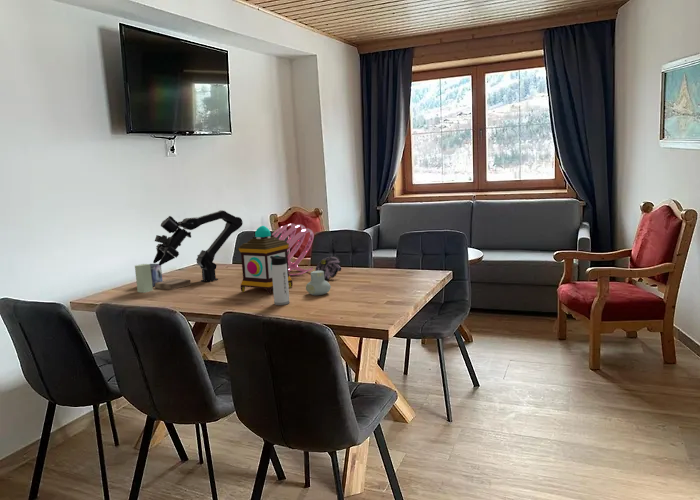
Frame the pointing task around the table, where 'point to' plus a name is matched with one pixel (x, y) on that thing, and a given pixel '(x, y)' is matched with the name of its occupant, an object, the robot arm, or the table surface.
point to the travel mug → (280, 280)
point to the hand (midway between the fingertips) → (156, 263)
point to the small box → (156, 273)
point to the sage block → (143, 278)
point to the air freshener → (318, 284)
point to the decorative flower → (329, 267)
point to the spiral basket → (291, 241)
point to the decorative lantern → (261, 259)
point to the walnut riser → (172, 284)
